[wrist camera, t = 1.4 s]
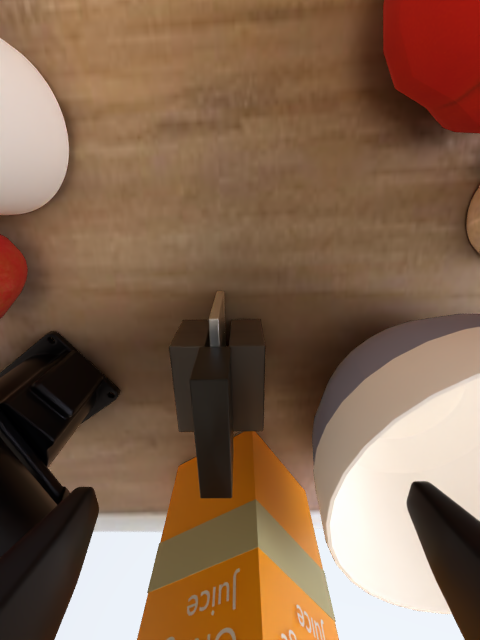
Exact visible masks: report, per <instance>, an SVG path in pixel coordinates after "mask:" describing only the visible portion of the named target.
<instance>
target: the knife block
mask: <svg viewBox="0 0 480 640" xmlns="http://www.w3.org/2000/svg"><path fill="white" fill-rule="evenodd" d="M199 347H210V335H209V320H183V321H182V323H181V325H180V327H179V329H178V331H177V332H176V334H175V336H174V338H173V340H172V342H171V344H170V346H169V351H170V360H171V368H172V377H173V385H174V394H175V402H176V411H177V419H178V427H179V432H194V424H193V413H192V402H191V392H190V381H189V380H190V377H191V373H192V370H193V367H194V363H195V360H196V357H197V353H198V350H199ZM229 347H231V377H232V412H233V431H263V426H264V381H265V342H264V336H263V331H262V325H261V320H260V319H244V320H231V328H230V340H229Z"/></svg>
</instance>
